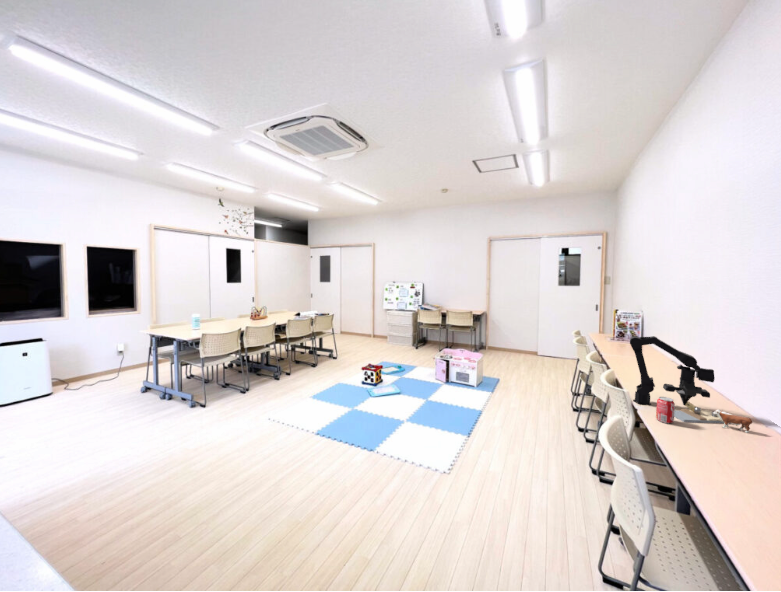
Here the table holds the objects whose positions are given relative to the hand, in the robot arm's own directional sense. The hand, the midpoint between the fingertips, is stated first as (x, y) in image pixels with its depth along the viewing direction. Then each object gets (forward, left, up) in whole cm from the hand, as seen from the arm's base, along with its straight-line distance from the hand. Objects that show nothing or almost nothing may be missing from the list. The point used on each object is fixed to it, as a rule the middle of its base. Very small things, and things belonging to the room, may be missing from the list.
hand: (684, 405), depth 181 cm
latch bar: (+1, -4, -1) cm, 5 cm away
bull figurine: (+5, -21, -3) cm, 22 cm away
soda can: (-22, -15, -3) cm, 27 cm away
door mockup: (-1, -9, -3) cm, 10 cm away
